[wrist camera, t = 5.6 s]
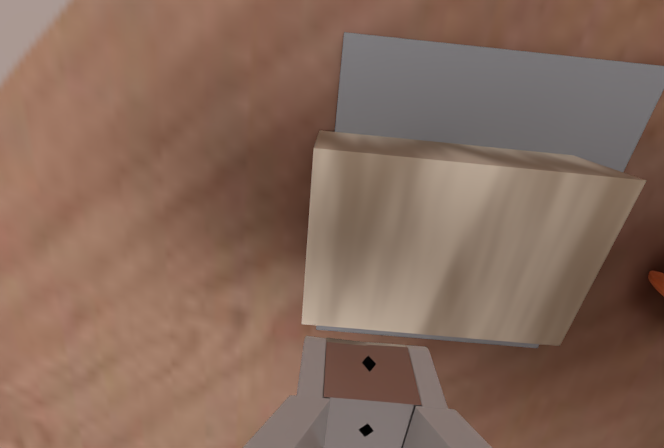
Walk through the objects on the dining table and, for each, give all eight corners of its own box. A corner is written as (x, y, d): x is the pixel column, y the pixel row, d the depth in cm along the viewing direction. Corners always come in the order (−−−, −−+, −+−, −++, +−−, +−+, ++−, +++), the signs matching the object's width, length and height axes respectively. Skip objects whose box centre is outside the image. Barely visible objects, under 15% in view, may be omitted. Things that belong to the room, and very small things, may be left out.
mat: (665, 67, 14) (674, 67, 14) (533, 343, 21) (537, 348, 20) (344, 33, 14) (344, 32, 13) (316, 324, 20) (316, 329, 20)
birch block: (319, 130, 15) (573, 155, 15) (308, 274, 18) (516, 292, 19) (313, 148, 11) (646, 180, 12) (301, 324, 15) (559, 346, 15)
